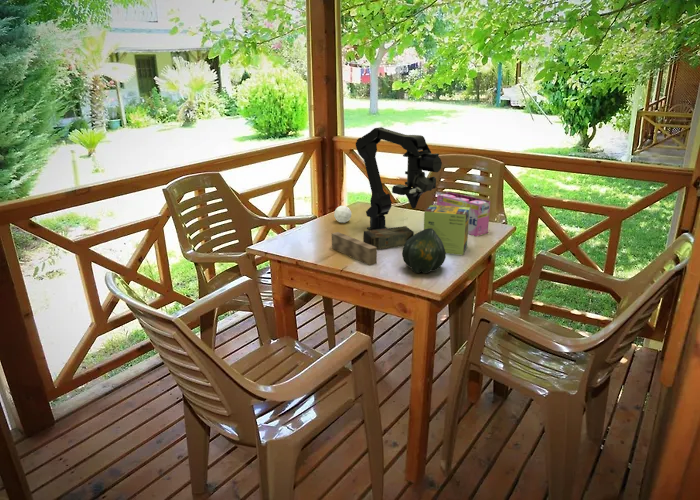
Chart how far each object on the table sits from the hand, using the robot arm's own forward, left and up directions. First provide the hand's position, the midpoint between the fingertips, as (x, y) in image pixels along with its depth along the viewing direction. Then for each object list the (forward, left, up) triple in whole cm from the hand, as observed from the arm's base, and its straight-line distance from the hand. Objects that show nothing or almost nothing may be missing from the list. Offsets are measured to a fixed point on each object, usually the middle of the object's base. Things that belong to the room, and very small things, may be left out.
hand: (413, 208), depth 197 cm
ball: (-36, -8, -13) cm, 39 cm away
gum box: (+4, +25, -13) cm, 28 cm away
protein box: (+17, +1, -13) cm, 21 cm away
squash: (+26, -20, -13) cm, 35 cm away
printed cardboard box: (0, -13, -13) cm, 18 cm away
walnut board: (0, -30, -12) cm, 33 cm away
